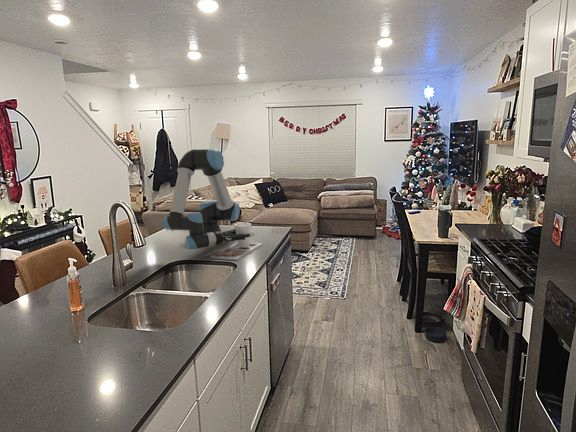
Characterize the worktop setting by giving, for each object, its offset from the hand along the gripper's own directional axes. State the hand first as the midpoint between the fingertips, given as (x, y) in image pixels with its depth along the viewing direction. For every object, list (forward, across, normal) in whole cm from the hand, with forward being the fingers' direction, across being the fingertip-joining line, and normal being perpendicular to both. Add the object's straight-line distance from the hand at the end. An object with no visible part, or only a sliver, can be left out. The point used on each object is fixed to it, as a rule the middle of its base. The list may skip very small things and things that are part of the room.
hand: (250, 232), depth 227 cm
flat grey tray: (-10, +4, -9) cm, 14 cm away
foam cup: (-4, 0, -8) cm, 9 cm away
